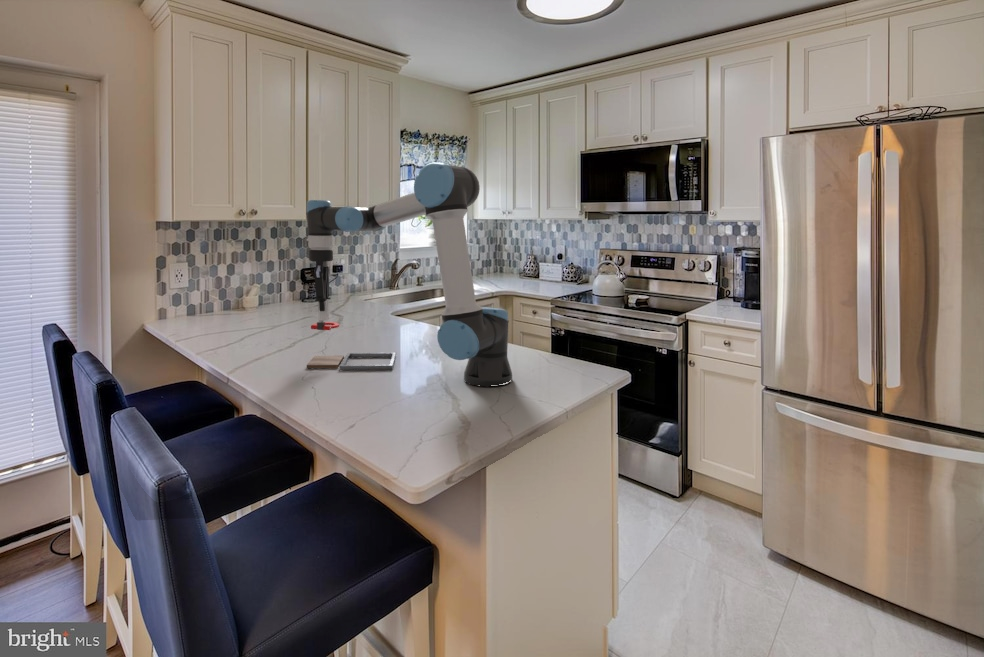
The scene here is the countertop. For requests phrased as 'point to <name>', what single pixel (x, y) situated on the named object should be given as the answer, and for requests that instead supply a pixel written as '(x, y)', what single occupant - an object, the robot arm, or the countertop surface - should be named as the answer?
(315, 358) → the walnut board
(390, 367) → the grey square tray
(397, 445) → the countertop surface
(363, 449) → the countertop surface
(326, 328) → the tow hook
